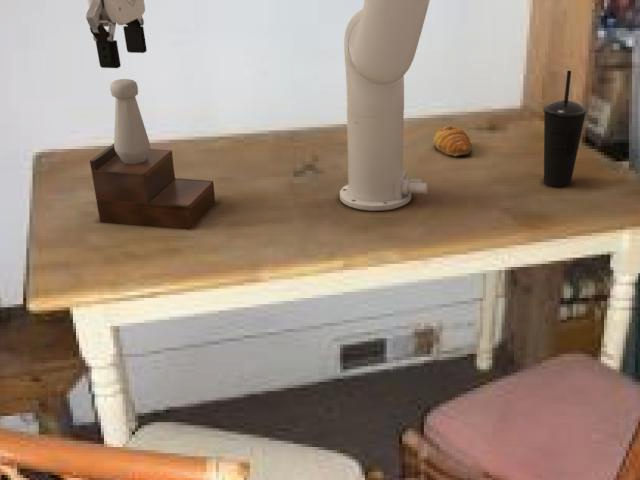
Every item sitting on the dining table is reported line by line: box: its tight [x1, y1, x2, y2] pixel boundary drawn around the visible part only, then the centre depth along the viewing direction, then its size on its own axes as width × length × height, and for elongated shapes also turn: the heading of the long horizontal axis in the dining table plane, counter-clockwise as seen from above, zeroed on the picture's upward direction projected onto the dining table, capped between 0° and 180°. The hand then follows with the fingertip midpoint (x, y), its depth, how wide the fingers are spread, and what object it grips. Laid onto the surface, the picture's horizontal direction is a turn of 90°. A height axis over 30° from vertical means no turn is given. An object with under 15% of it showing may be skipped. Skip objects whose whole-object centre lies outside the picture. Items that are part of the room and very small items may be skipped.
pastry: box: [433, 125, 472, 157], centre depth 185 cm, size 9×7×4 cm
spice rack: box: [89, 143, 216, 230], centre depth 156 cm, size 16×12×11 cm
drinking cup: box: [542, 70, 588, 188], centre depth 165 cm, size 8×8×20 cm
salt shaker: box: [109, 78, 151, 164], centre depth 151 cm, size 6×6×13 cm
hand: (124, 59), depth 146 cm, fingers open, 9 cm apart
